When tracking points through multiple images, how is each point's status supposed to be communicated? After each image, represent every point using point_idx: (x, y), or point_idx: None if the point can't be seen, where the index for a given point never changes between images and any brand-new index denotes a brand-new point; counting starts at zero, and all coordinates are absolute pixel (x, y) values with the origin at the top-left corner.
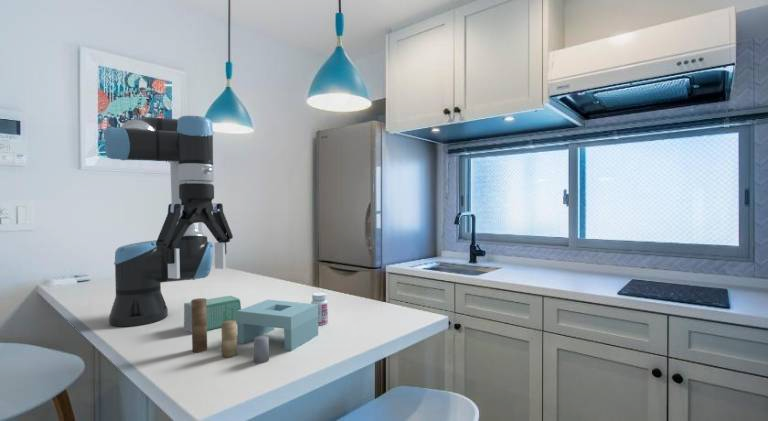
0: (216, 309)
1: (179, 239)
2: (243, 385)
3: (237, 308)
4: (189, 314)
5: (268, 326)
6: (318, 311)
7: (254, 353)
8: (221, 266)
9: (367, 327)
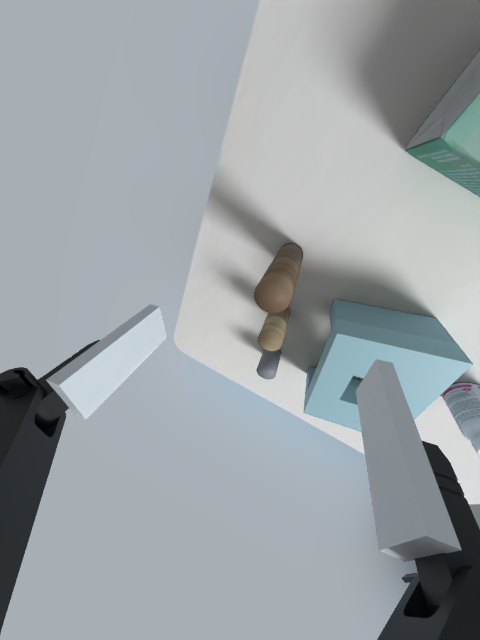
0: None
1: (43, 466)
2: (218, 354)
3: None
4: (469, 86)
5: (315, 371)
6: (454, 416)
7: (262, 354)
8: (361, 392)
9: None
